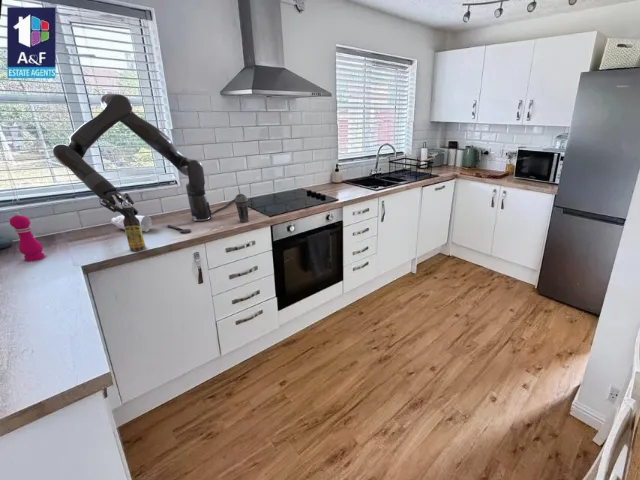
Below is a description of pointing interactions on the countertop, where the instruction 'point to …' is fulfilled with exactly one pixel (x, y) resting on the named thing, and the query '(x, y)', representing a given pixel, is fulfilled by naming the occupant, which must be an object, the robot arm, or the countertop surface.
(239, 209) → the beverage cup
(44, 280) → the countertop surface
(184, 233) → the spoon
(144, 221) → the white bottle
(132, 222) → the sauce bottle
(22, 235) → the pepper mill
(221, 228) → the countertop surface
